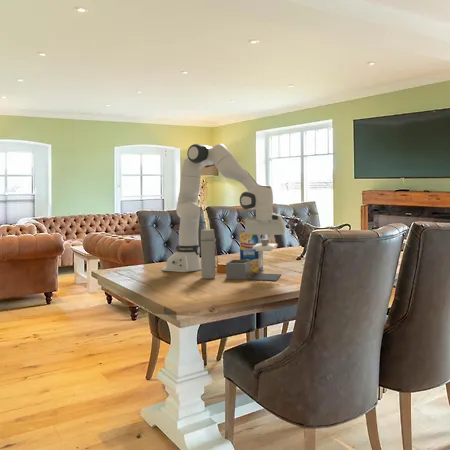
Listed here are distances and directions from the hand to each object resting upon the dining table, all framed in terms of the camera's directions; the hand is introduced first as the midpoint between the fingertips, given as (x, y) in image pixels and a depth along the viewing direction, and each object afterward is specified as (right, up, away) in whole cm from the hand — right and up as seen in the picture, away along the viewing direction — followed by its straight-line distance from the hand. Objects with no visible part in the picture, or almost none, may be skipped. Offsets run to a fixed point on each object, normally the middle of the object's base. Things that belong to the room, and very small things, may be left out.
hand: (265, 243), depth 240 cm
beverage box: (-6, -16, +22) cm, 28 cm away
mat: (0, -18, +1) cm, 18 cm away
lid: (0, -3, 0) cm, 3 cm away
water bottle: (-28, -18, +4) cm, 34 cm away
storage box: (-13, -18, +5) cm, 23 cm away
